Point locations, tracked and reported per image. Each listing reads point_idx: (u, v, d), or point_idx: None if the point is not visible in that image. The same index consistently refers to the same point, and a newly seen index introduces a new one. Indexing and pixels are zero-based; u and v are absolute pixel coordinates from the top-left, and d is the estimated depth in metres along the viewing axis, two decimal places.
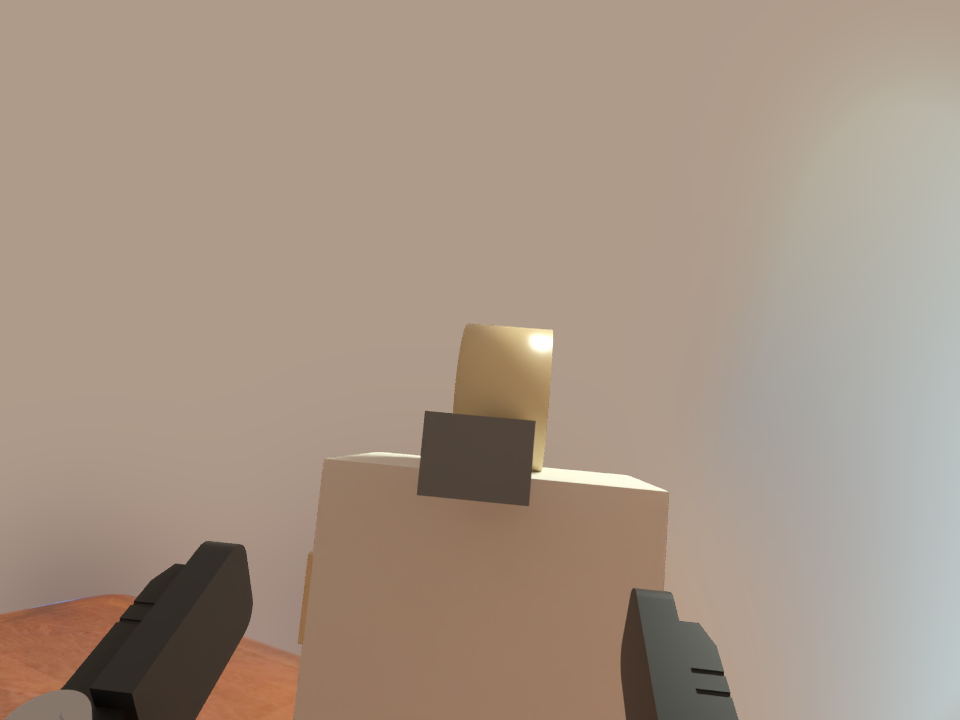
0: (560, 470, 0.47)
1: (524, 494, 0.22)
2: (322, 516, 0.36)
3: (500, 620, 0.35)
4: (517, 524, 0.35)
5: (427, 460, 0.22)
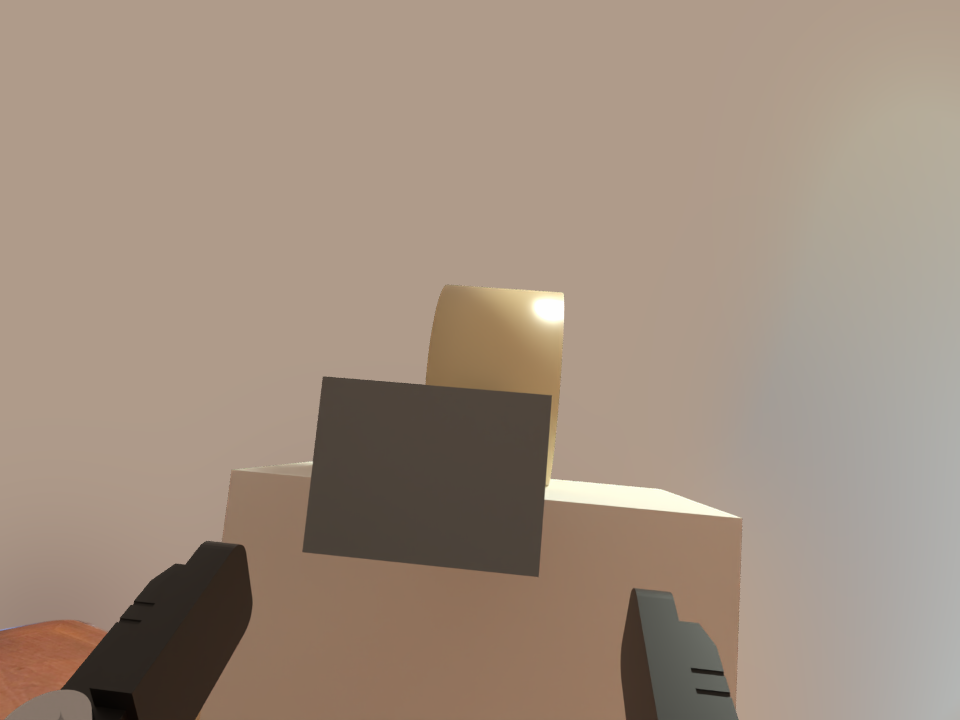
0: (572, 483, 0.36)
1: (528, 551, 0.10)
2: None
3: (490, 713, 0.23)
4: None
5: (326, 478, 0.11)
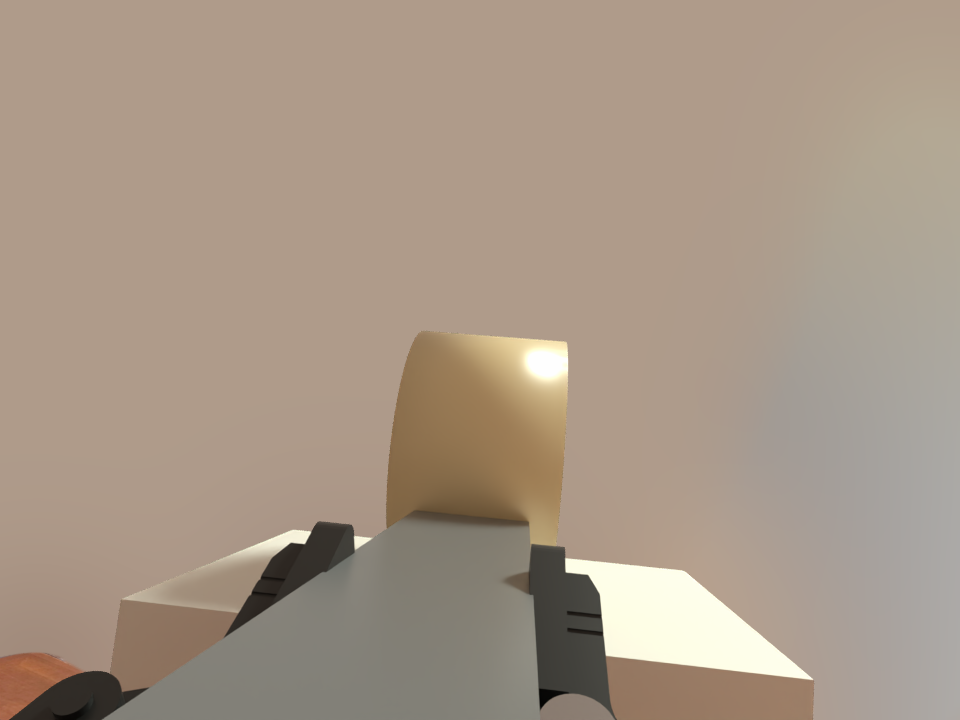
0: (577, 568, 0.29)
1: None
2: None
3: None
4: None
5: None
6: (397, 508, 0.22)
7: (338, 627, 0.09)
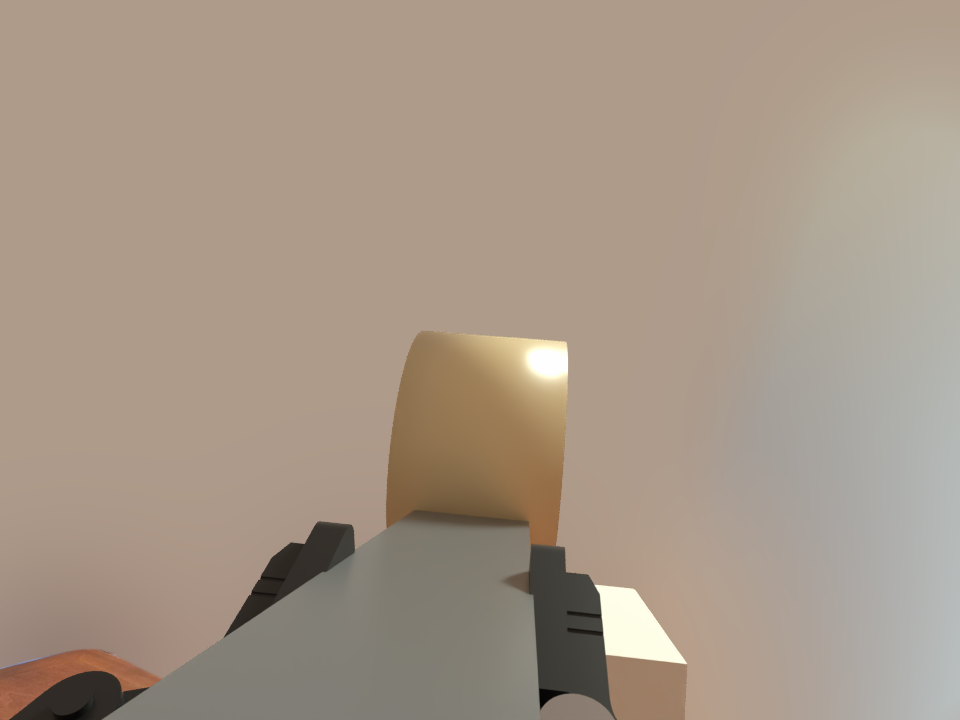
0: None
1: None
2: None
3: None
4: None
5: None
6: (397, 508, 0.22)
7: (338, 627, 0.09)
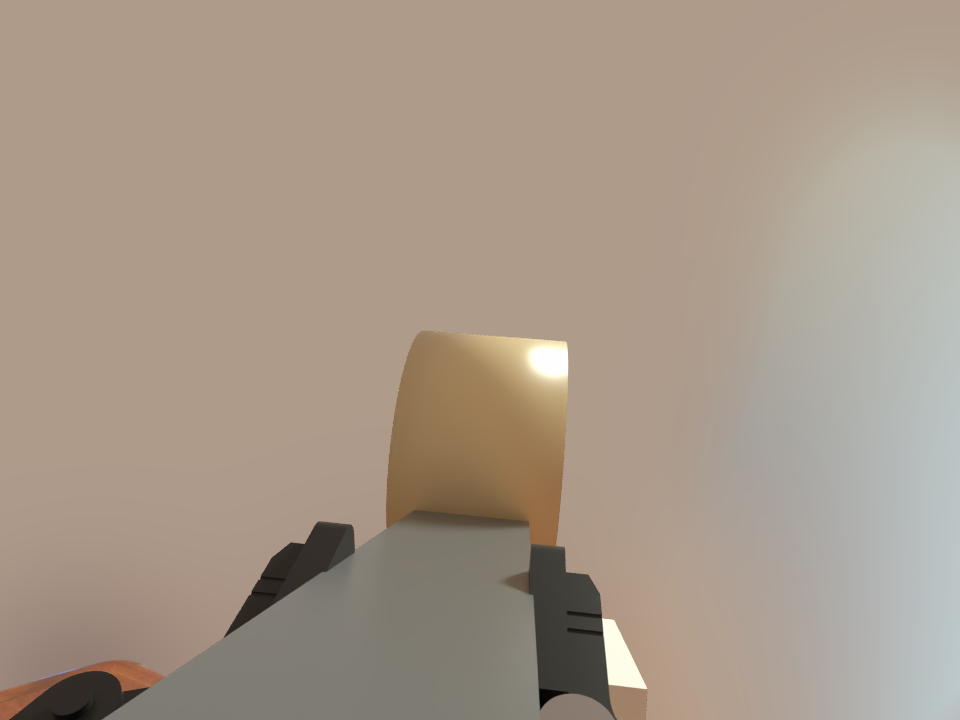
0: None
1: None
2: None
3: None
4: None
5: None
6: (397, 508, 0.22)
7: (338, 627, 0.09)
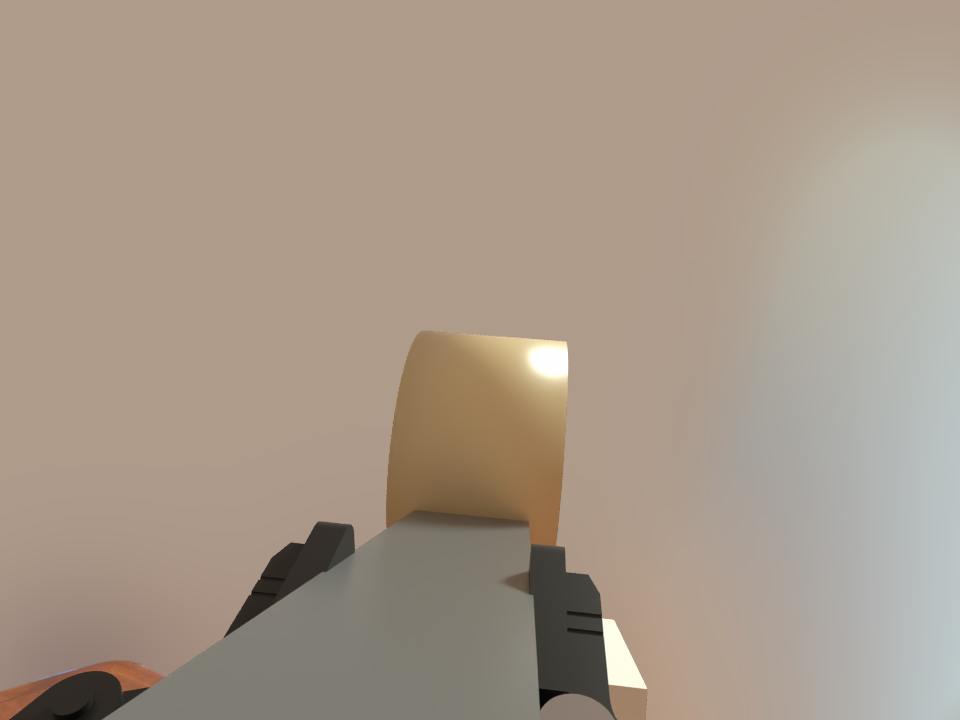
0: None
1: None
2: None
3: None
4: None
5: None
6: (397, 508, 0.22)
7: (338, 627, 0.09)
